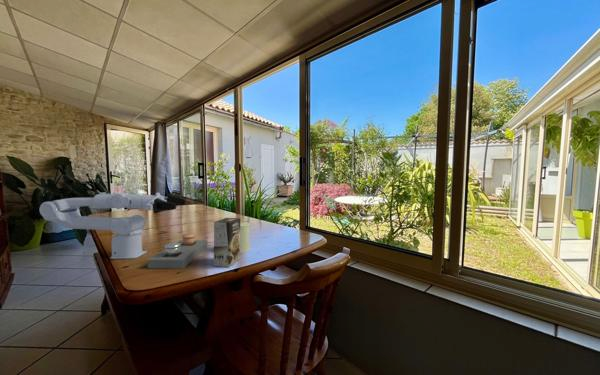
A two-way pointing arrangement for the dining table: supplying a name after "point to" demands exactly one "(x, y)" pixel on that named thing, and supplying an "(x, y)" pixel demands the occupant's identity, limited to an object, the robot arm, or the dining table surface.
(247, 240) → the can
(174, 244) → the grey plunger
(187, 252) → the console
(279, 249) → the dining table surface
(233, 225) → the coffee box
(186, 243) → the tan rounded lump
